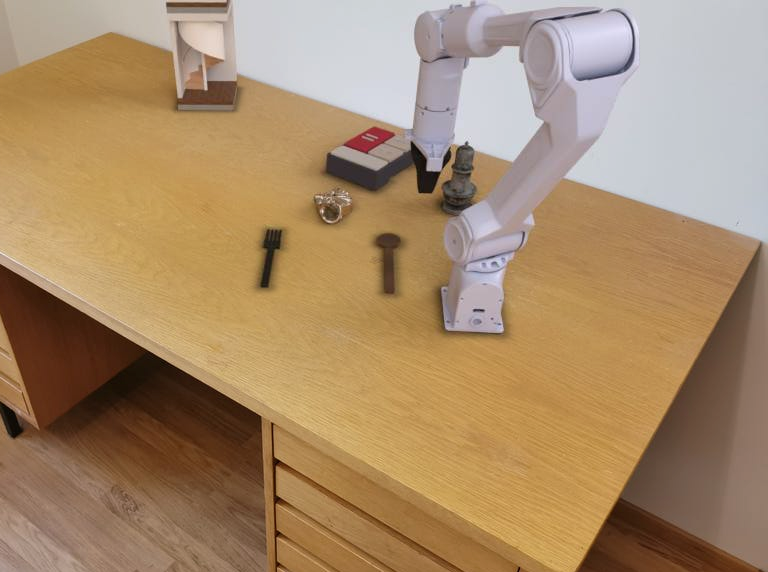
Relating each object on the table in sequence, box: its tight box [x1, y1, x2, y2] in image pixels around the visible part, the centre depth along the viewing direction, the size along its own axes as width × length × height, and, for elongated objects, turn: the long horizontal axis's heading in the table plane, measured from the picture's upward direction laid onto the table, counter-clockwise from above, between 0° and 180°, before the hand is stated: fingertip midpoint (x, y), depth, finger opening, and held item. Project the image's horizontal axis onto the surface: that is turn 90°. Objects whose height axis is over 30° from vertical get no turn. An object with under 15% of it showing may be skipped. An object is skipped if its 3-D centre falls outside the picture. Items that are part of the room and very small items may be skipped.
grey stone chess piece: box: [440, 140, 478, 216], centre depth 122 cm, size 6×6×12 cm
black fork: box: [260, 228, 283, 289], centre depth 116 cm, size 15×3×1 cm, turn 175°
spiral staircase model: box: [165, 0, 239, 111], centre depth 146 cm, size 11×11×35 cm
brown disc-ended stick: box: [377, 232, 401, 294], centre depth 115 cm, size 15×4×1 cm, turn 175°
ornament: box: [313, 185, 354, 225], centre depth 124 cm, size 8×7×4 cm
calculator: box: [325, 125, 414, 191], centre depth 135 cm, size 11×4×15 cm
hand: (425, 191), depth 110 cm, fingers closed
